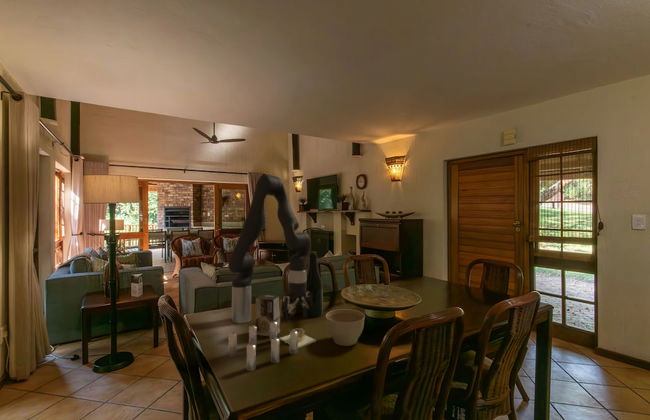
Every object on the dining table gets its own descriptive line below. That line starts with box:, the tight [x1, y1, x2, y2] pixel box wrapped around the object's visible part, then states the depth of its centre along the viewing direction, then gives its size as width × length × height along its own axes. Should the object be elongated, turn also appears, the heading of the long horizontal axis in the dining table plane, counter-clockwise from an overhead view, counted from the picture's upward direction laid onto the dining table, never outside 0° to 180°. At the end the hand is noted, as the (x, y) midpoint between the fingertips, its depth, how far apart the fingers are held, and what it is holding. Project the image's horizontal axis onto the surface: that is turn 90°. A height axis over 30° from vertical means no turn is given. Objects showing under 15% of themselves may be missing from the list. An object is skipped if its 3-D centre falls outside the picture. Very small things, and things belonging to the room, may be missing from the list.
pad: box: [279, 334, 317, 349], centre depth 128 cm, size 12×10×1 cm
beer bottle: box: [302, 251, 324, 318], centre depth 161 cm, size 10×10×33 cm
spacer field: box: [228, 321, 299, 372], centre depth 116 cm, size 19×21×8 cm
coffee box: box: [255, 294, 281, 337], centre depth 136 cm, size 9×6×16 cm
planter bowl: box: [325, 308, 366, 347], centre depth 127 cm, size 16×16×11 cm
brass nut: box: [292, 327, 306, 342], centre depth 128 cm, size 6×5×4 cm
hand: (296, 319), depth 128 cm, fingers open, 8 cm apart
